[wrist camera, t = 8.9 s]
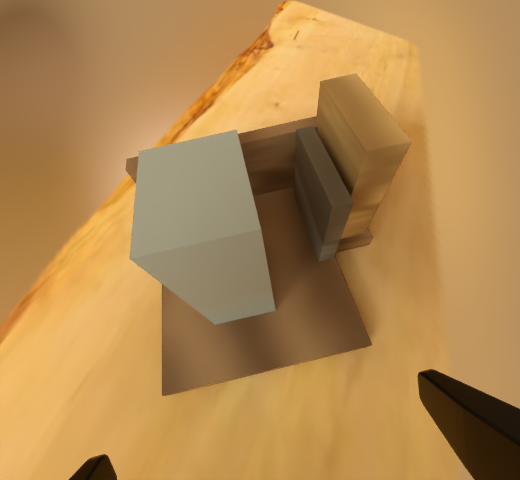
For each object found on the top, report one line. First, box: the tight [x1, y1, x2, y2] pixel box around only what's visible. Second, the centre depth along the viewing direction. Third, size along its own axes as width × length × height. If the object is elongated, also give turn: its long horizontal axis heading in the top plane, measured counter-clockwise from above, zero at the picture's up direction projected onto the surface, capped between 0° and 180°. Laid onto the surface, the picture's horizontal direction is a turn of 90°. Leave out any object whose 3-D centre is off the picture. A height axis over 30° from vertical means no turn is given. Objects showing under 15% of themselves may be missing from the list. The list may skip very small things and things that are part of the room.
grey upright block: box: [130, 130, 276, 325], centre depth 14 cm, size 5×6×11 cm
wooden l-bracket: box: [126, 74, 412, 396], centre depth 17 cm, size 18×16×10 cm
